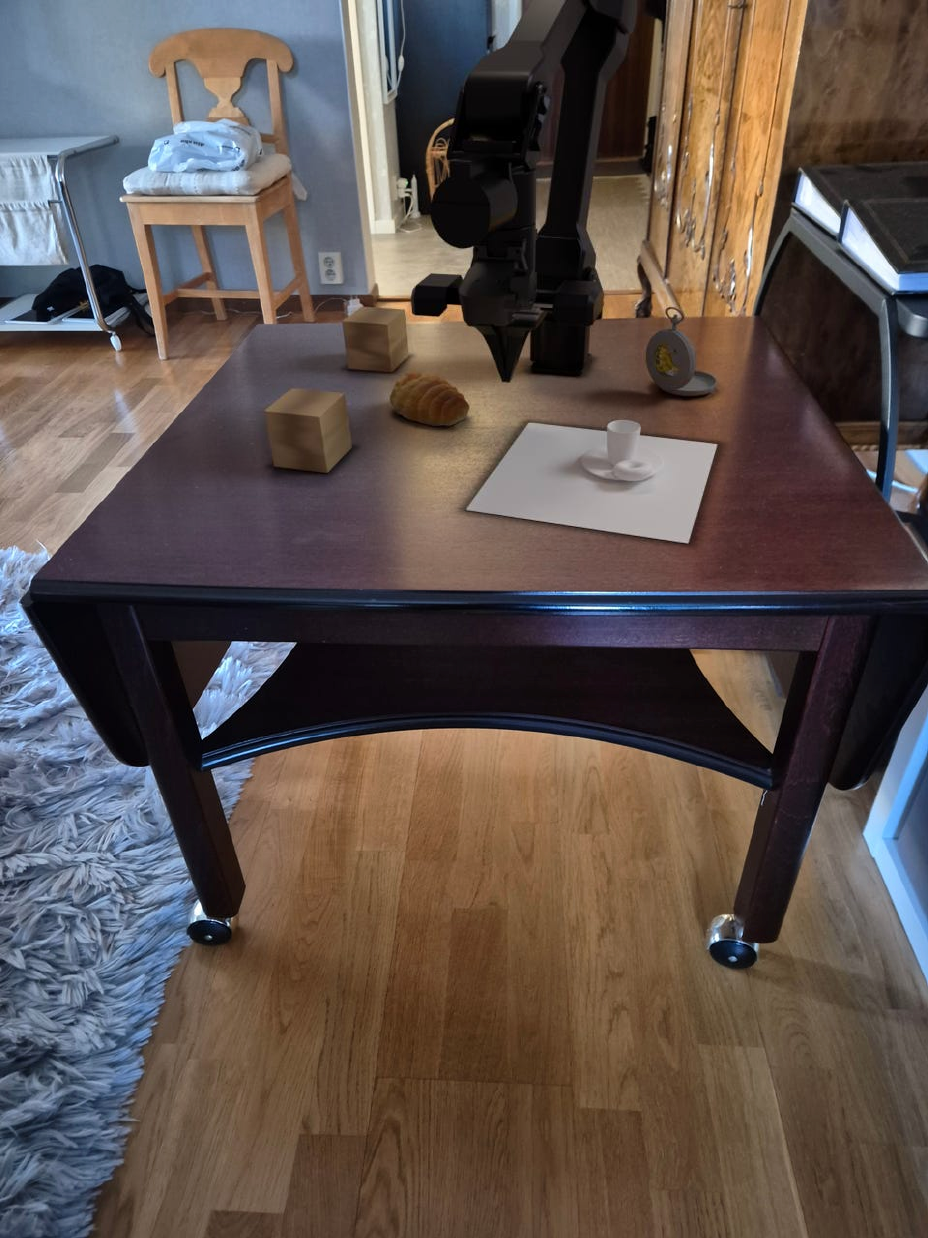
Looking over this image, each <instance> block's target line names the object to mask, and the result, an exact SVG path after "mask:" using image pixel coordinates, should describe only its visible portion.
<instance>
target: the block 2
mask: <svg viewBox="0 0 928 1238" xmlns="http://www.w3.org/2000/svg"><path fill="white" fill-rule="evenodd" d="M341 323H342V330H343V338H344V346H345V354H346V364H347V369H348V370H358V371H370V372H381V373H382V372H383V373H393V372H394V371H395V370H396V369H397V368H398V367H399V366H400V365H401V364H403V362H404V361H406V359H407V358H408V357H409V344H408V343H409V342H408V332H407V331H408V330H407V317H406V309H404V308H389V307H373V306H360V307H359V308H358V309H357V310H355V311H354V312H352V313H351V314H350V315H349V316H347V317H346V318H344V319H343V320H342V322H341Z"/></svg>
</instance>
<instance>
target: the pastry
mask: <svg viewBox="0 0 928 1238" xmlns="http://www.w3.org/2000/svg"><path fill="white" fill-rule="evenodd" d="M389 402H390V405H391V406H392V407H393V409H394V411H395V412H396V413H397V415H402V416H403V417H404V418H405V419H408V420H411V421H416V422H418V423H420V424H422V425H423V424H426V426H428V425H429V426H433V427H436V426H437V427H439V426H448V427H450V426H452V425H455V424H457V423H458V422H460V421H464V420H465V419H466V418H467V416H468V413H469V411H470V405H469V403H468V401H467V400H466V399H465V394H463V393H461V392H459V390H458V388H457V387H456V386H453V385H452V384H450V383H449V381H448V380H447V379H445V378H442V379H441V378H440V377H439V376H438V375H436V374H435V375H434V374H429V375H425V374H423V373H422V372H417V371H412V372H407V373H405V374H404V375H402V376H401V378H400V379H399V380H397V381H396V383H395V384H394V385H393V387H392V391H391V392H390V395H389Z"/></svg>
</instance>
